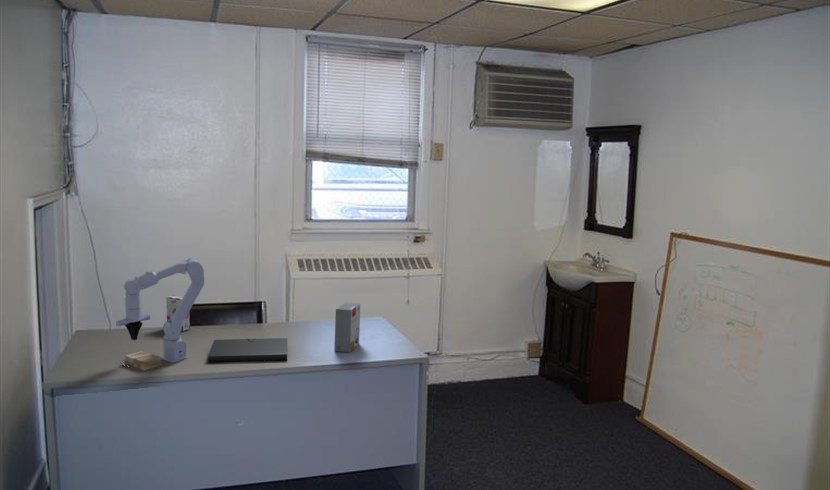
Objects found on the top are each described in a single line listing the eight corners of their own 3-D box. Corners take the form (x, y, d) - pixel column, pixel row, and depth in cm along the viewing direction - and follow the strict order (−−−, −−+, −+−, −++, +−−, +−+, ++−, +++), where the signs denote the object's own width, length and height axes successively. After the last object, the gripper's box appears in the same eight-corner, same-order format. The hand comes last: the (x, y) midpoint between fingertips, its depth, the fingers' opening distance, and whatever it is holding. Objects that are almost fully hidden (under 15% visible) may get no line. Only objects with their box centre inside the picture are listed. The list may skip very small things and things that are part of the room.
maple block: (142, 358, 280) (161, 365, 273) (125, 363, 273) (144, 370, 266) (142, 351, 279) (161, 357, 272) (125, 355, 272) (144, 361, 266)
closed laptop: (287, 337, 307) (287, 353, 283) (287, 345, 308) (287, 362, 284) (214, 338, 301) (207, 356, 277) (214, 347, 301) (207, 365, 278)
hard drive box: (350, 353, 298) (350, 310, 295) (334, 351, 299) (334, 309, 296) (359, 343, 313) (360, 302, 310) (344, 342, 314) (345, 301, 311)
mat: (169, 365, 273) (168, 364, 273) (143, 373, 263) (143, 372, 263) (139, 356, 284) (139, 355, 284) (113, 363, 274) (113, 362, 274)
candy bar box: (190, 329, 326) (189, 297, 324) (182, 332, 322) (182, 299, 319) (174, 326, 331) (173, 294, 329) (166, 328, 327) (165, 296, 324)
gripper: (142, 303, 281) (143, 334, 283) (111, 309, 269) (112, 341, 271) (152, 305, 277) (153, 337, 279) (121, 312, 265) (122, 344, 267)
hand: (134, 339), depth 275 cm, fingers closed
